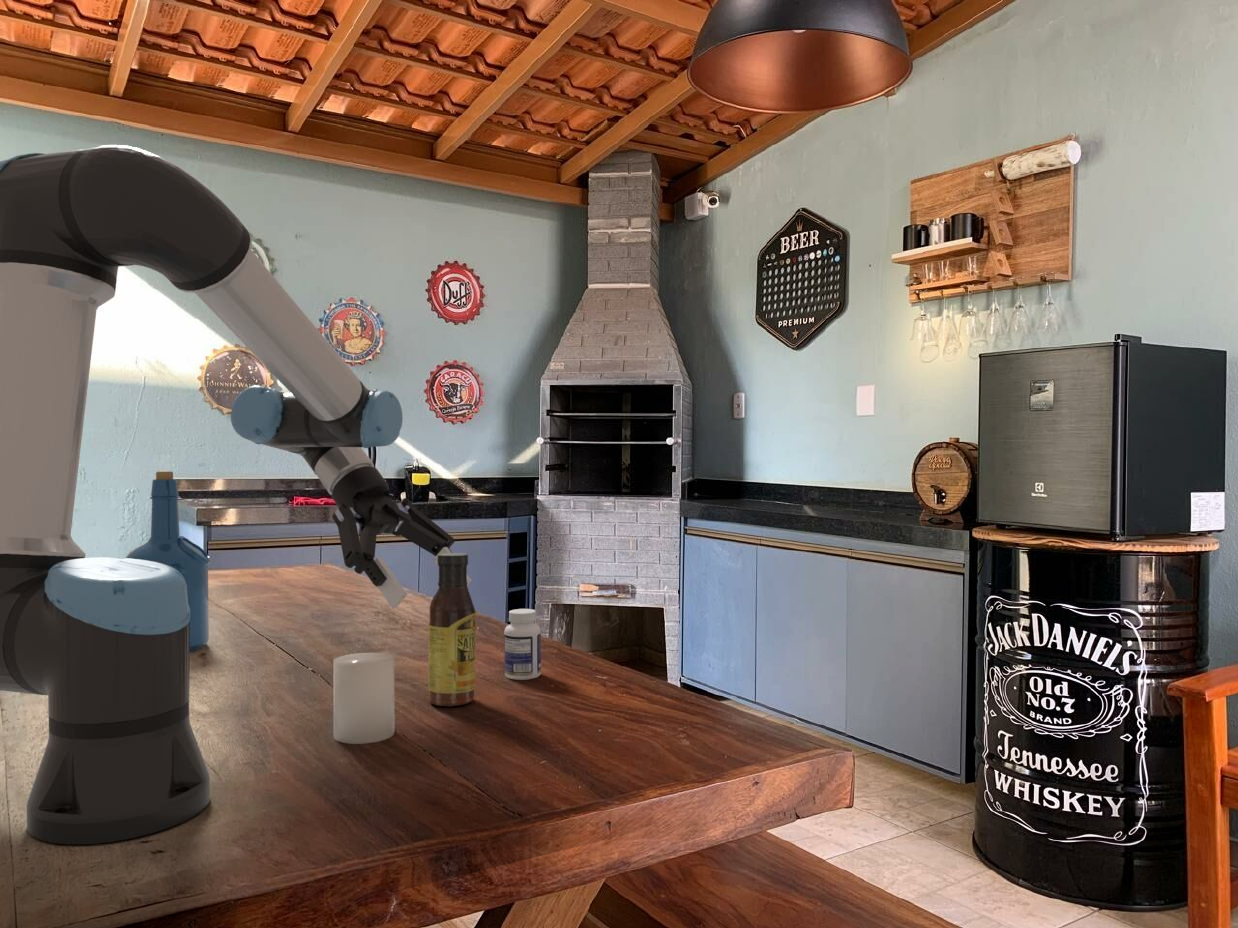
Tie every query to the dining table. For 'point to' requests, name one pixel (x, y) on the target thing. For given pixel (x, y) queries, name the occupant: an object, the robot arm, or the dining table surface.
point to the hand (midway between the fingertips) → (434, 594)
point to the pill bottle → (522, 645)
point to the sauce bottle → (452, 635)
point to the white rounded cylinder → (363, 697)
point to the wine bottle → (177, 554)
